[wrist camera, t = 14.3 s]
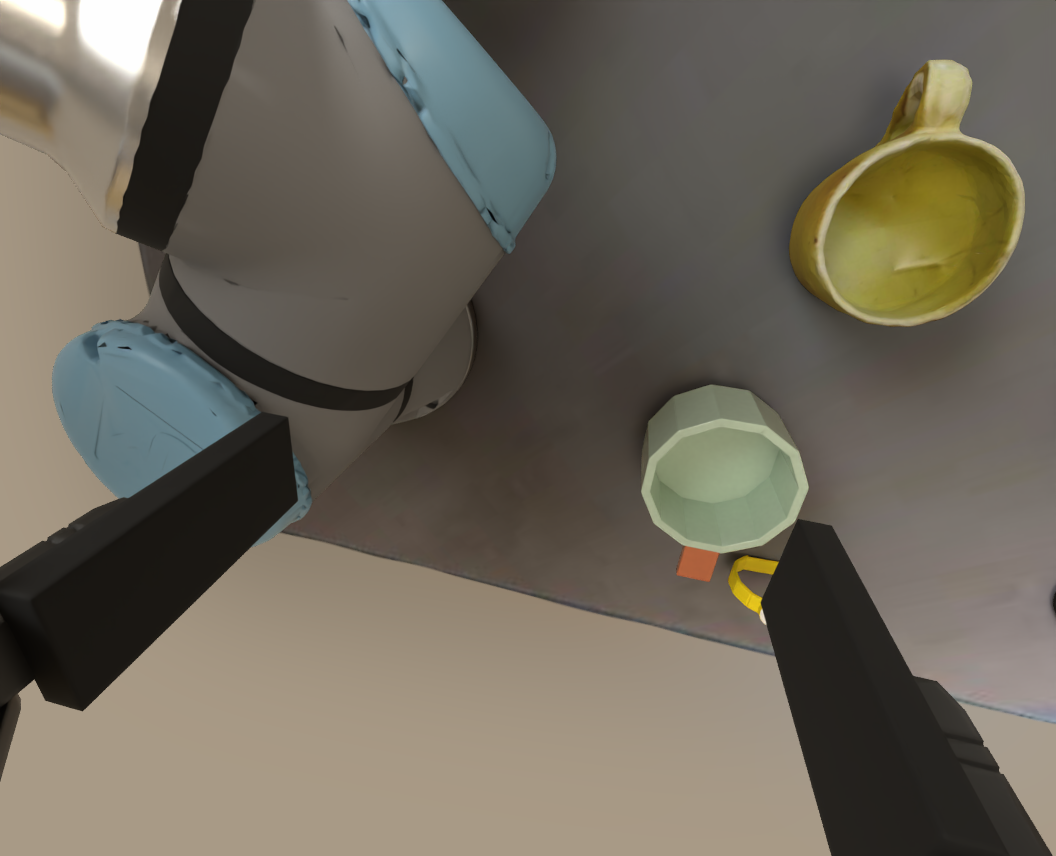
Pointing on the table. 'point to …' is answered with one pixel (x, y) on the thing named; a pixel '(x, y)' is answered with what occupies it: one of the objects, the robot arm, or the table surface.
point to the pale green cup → (719, 475)
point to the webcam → (1054, 602)
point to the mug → (912, 213)
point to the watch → (741, 590)
